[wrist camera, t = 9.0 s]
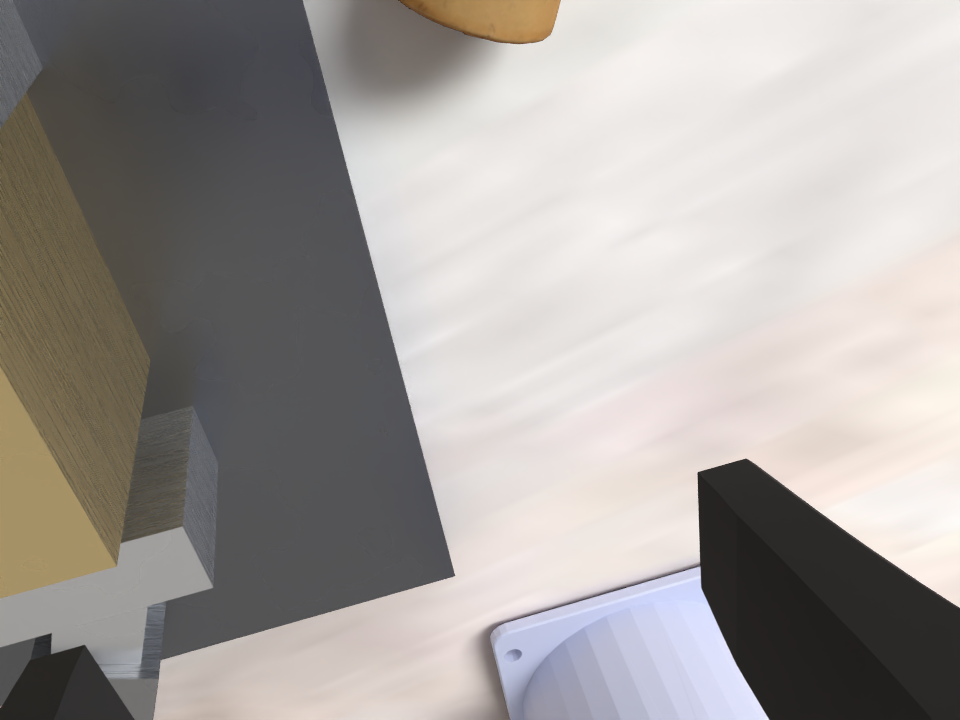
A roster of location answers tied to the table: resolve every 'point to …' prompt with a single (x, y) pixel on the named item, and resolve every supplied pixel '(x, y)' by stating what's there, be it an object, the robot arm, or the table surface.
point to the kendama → (492, 17)
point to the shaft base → (223, 334)
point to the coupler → (59, 375)
